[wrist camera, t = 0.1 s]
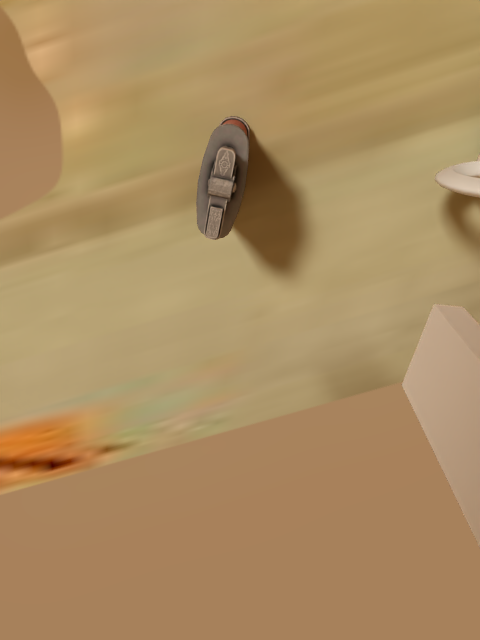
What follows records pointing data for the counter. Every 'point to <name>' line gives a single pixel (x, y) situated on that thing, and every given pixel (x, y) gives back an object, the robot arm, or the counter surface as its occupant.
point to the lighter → (223, 178)
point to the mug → (461, 178)
